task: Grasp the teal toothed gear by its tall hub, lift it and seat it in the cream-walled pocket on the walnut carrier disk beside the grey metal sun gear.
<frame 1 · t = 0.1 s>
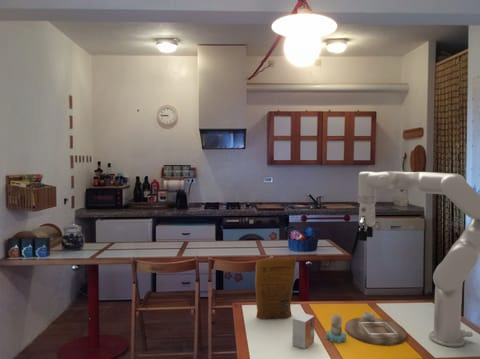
hand: (365, 238, 177), 37 cm above the table, tool pointing down, fingers open, 9 cm apart
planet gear: (336, 338, 162), on the table
pancake mix bag: (274, 318, 183), on the table
carrier: (374, 332, 169), on the table
small box: (303, 344, 158), on the table
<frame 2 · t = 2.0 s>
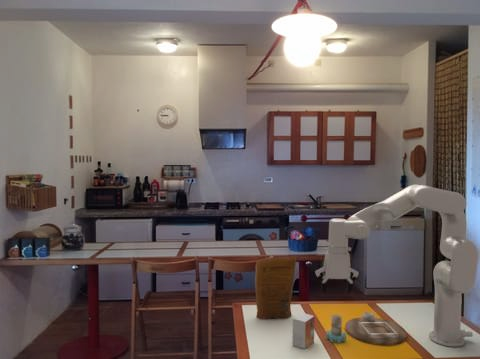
hand: (336, 292, 161), 19 cm above the table, tool pointing down, fingers open, 9 cm apart
nothing on the table moved.
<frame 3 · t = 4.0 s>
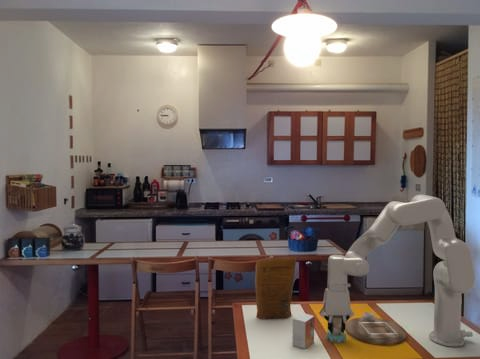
hand: (336, 331, 162), 3 cm above the table, tool pointing down, fingers closed on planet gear, 4 cm apart
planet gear: (336, 338, 162), on the table, touching gripper
everything else where it was.
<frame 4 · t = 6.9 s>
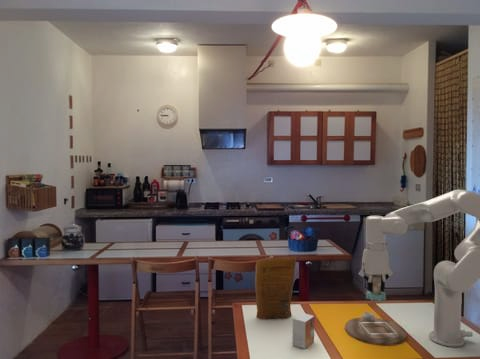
hand: (375, 290, 164), 19 cm above the table, tool pointing down, fingers closed on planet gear, 4 cm apart
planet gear: (375, 298, 165), point 16 cm above the table, touching gripper
everything else where it was.
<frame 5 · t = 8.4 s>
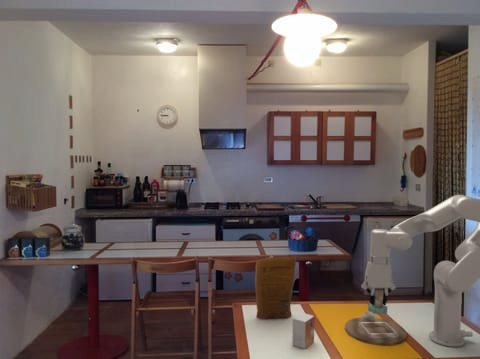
hand: (377, 303, 165), 13 cm above the table, tool pointing down, fingers closed on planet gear, 4 cm apart
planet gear: (377, 311, 165), point 10 cm above the table, touching gripper
everything else where it was.
when the fingers open (7 cm above the table, at t = 9.9 s): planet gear drops 2 cm, resting on carrier.
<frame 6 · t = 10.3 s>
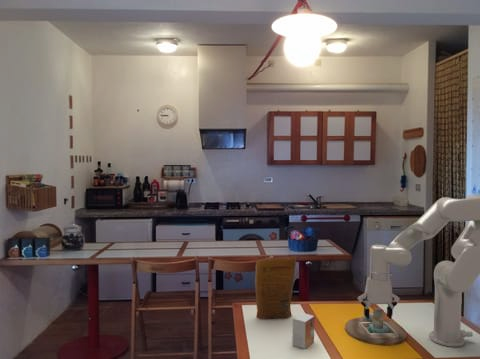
hand: (378, 317, 166), 7 cm above the table, tool pointing down, fingers open, 8 cm apart
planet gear: (377, 331, 166), point 1 cm above the table, touching carrier
everything else where it was.
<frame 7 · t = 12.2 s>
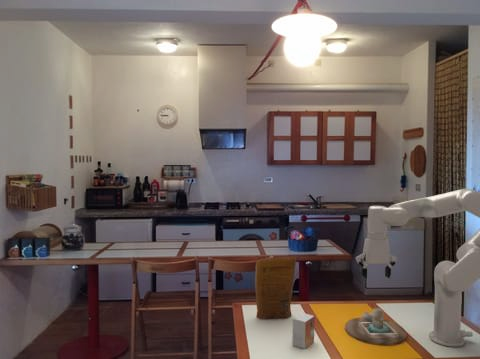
hand: (376, 277, 167), 23 cm above the table, tool pointing down, fingers open, 9 cm apart
nothing on the table moved.
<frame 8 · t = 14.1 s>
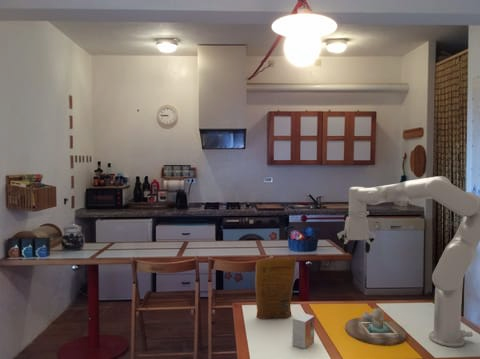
hand: (356, 252, 181), 30 cm above the table, tool pointing down, fingers open, 9 cm apart
nothing on the table moved.
at the end: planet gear 0.0 cm from the target spot on the carrier, point 1.5 cm above the carrier's base; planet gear tilted 0°; the gripper is holding nothing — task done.
